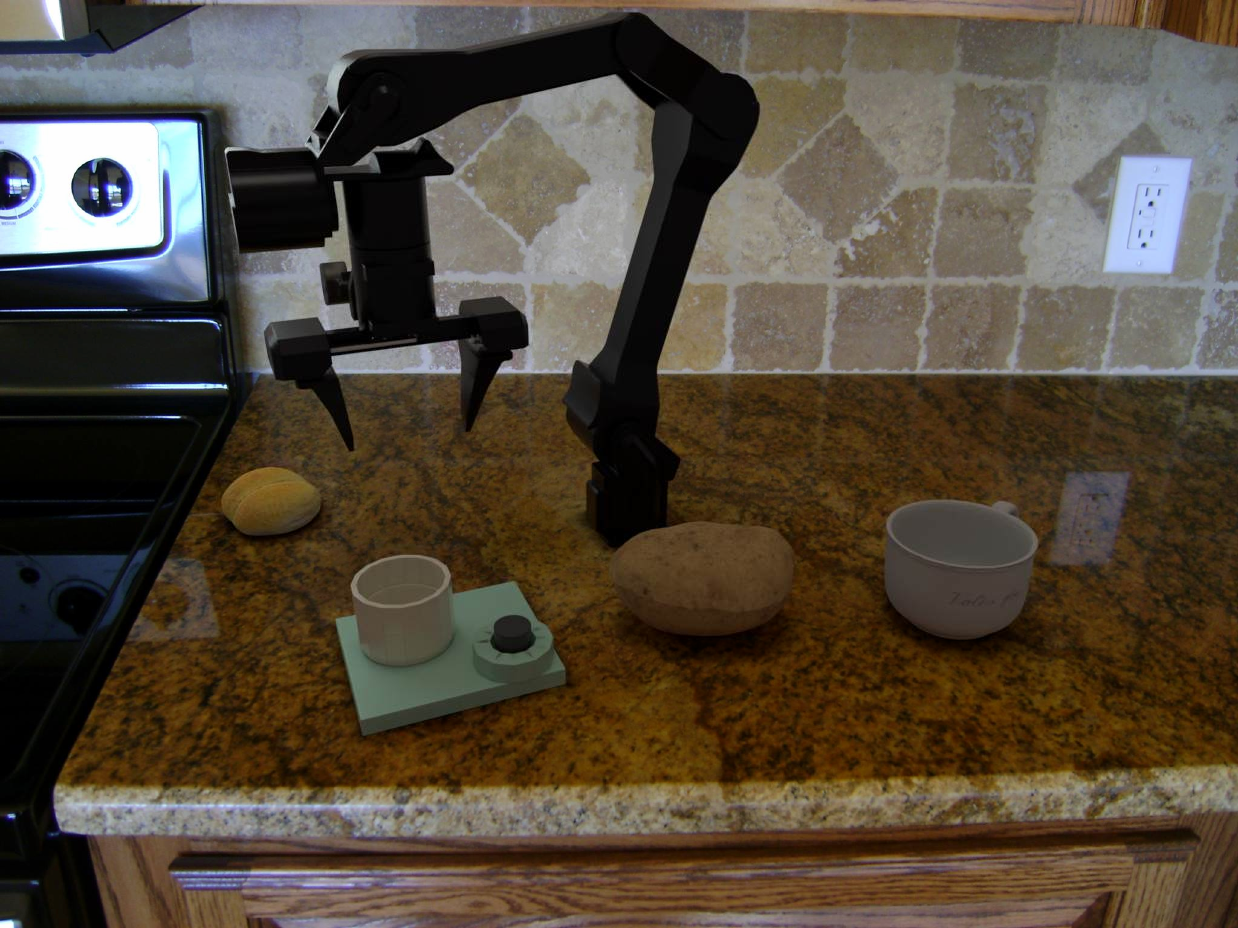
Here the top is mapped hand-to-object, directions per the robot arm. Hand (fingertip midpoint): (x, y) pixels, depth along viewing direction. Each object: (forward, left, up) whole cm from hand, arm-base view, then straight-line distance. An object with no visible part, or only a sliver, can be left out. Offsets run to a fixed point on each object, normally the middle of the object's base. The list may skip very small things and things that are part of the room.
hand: (410, 439), depth 74 cm
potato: (-18, +16, -12) cm, 27 cm away
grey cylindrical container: (+3, +11, -11) cm, 16 cm away
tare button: (-3, +16, -9) cm, 19 cm away
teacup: (-38, +22, -12) cm, 46 cm away
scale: (+1, +13, -12) cm, 18 cm away
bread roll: (+11, -14, -12) cm, 22 cm away
